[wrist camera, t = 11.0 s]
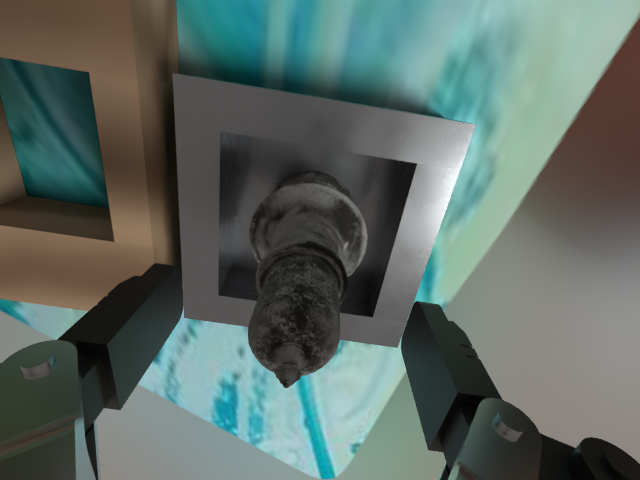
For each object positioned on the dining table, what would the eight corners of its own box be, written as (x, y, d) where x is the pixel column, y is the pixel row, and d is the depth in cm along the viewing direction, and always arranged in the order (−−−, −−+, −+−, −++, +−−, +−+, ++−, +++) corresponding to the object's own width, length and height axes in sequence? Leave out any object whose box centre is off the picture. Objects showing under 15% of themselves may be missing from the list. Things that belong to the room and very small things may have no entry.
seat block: (207, 77, 16) (172, 73, 13) (444, 117, 17) (475, 124, 13) (208, 280, 22) (184, 317, 18) (386, 306, 22) (397, 347, 19)
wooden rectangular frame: (-92, -85, 14) (-240, -147, 10) (174, -36, 14) (122, -79, 11) (16, 259, 22) (-47, 292, 18) (187, 283, 22) (159, 320, 19)
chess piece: (249, 236, 19) (146, 420, 8) (284, 148, 17) (203, 246, 6) (334, 271, 20) (339, 478, 9) (379, 192, 18) (455, 346, 7)
